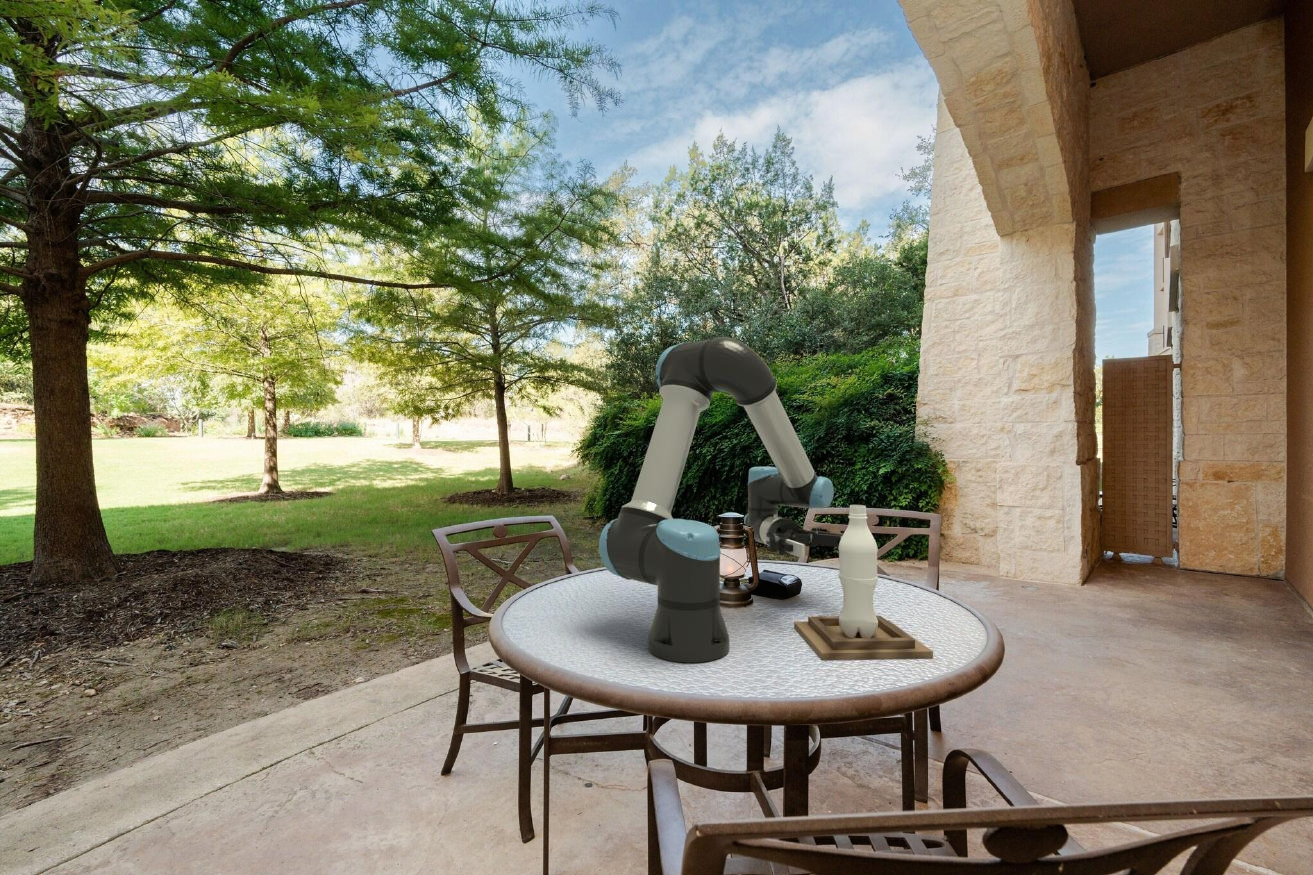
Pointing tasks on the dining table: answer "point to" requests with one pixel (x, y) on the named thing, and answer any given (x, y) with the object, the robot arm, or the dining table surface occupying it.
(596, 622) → the dining table surface
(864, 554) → the water bottle
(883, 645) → the walnut tray
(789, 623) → the dining table surface
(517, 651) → the dining table surface
